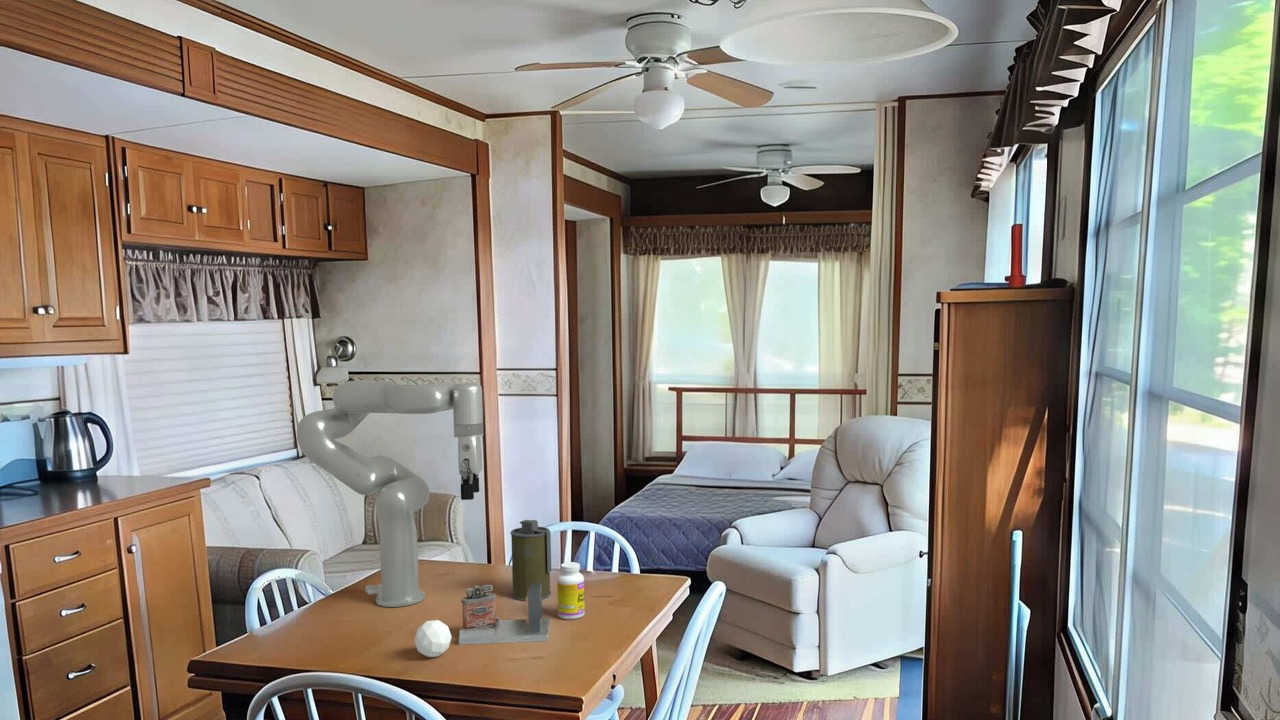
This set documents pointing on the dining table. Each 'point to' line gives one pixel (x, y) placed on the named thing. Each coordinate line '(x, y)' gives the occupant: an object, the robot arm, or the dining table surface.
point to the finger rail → (514, 625)
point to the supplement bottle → (570, 592)
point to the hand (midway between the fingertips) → (470, 495)
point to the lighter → (479, 608)
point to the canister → (530, 559)
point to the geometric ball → (432, 638)
